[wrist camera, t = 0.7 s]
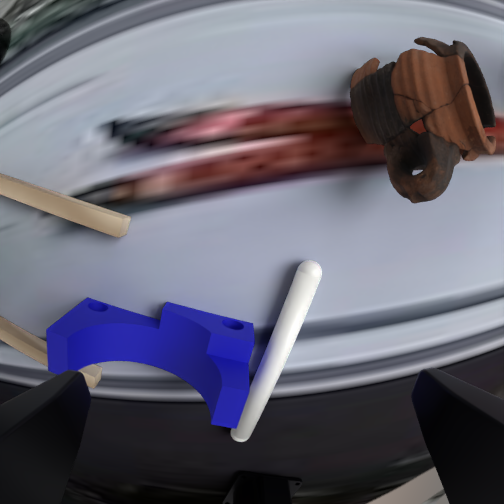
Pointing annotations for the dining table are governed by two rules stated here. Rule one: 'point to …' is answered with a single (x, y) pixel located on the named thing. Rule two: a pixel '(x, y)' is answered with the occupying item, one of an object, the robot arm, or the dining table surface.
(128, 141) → the dining table surface
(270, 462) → the dining table surface
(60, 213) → the frame
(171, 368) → the cable clip
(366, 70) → the pottery mug
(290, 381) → the dining table surface
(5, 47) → the supplement bottle
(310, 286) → the white peg
